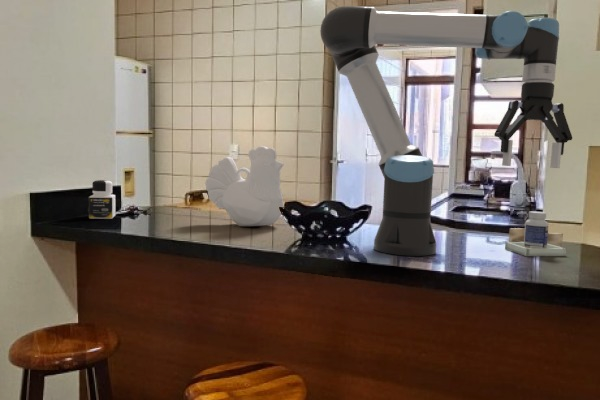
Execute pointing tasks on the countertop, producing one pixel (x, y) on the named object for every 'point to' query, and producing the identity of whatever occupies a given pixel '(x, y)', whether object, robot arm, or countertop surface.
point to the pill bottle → (536, 230)
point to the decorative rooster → (248, 188)
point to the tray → (535, 250)
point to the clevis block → (519, 234)
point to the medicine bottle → (102, 201)
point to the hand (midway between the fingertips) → (530, 167)
